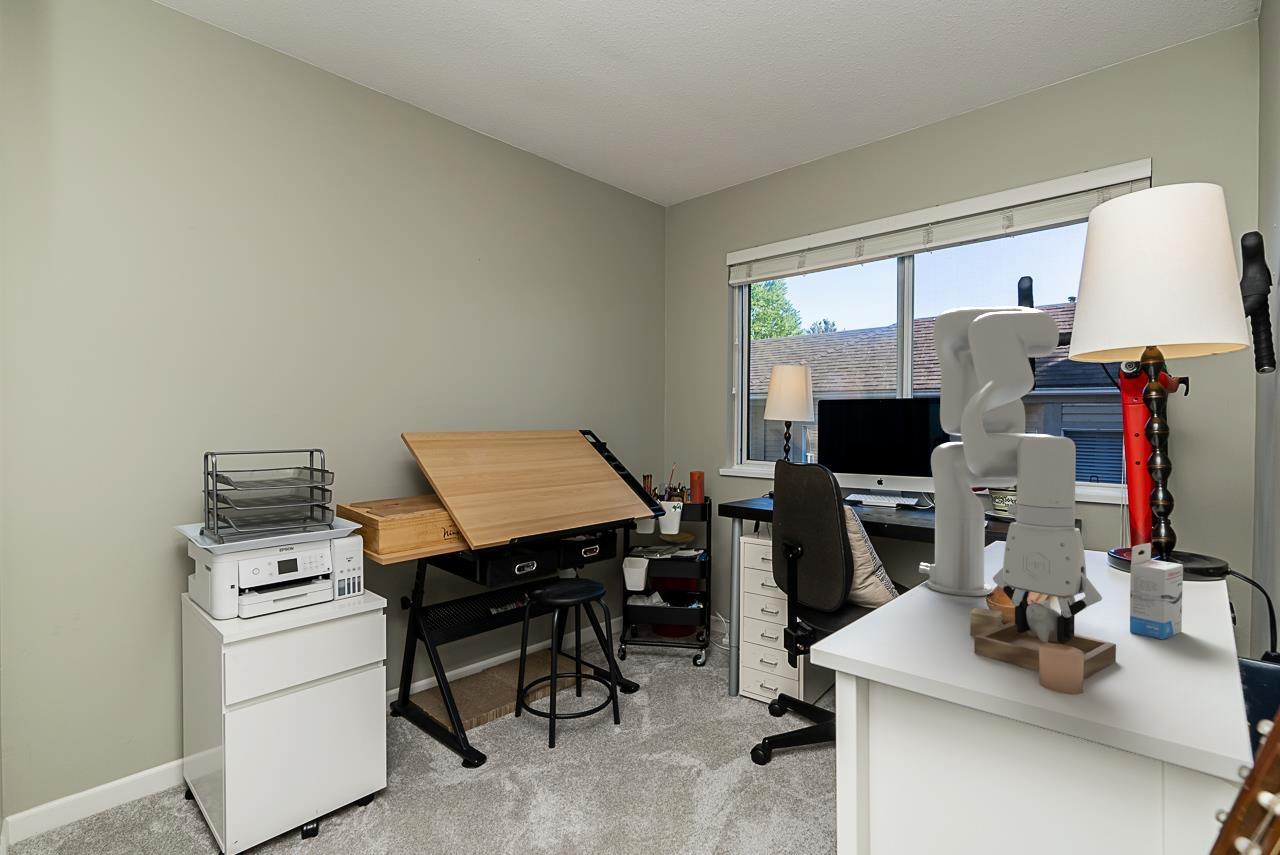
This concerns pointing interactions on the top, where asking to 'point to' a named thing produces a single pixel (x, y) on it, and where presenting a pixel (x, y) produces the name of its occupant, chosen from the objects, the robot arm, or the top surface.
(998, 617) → the oak block
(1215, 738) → the top surface
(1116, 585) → the top surface
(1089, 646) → the walnut tray
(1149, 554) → the ink box
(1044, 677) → the oval beige cylinder
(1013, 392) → the robot arm
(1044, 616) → the figurine
